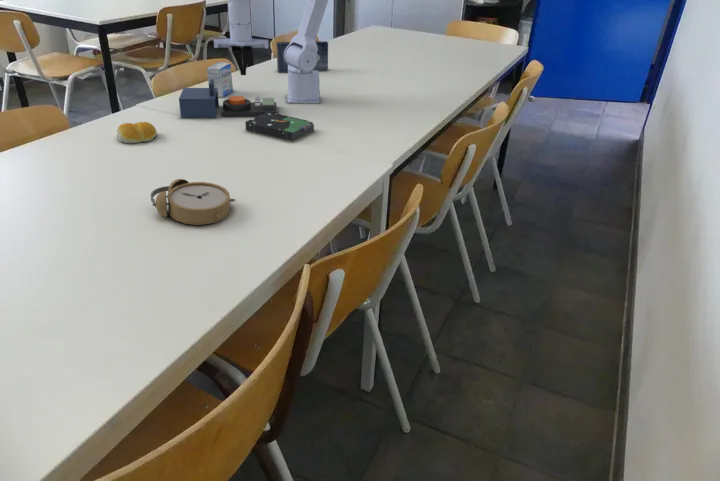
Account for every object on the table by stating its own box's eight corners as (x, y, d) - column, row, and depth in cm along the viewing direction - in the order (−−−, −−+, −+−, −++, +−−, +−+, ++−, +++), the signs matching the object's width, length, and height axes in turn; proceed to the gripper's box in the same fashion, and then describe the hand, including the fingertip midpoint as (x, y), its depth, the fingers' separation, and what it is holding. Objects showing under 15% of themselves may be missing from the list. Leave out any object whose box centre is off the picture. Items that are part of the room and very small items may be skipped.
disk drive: (245, 132, 142) (293, 143, 136) (244, 121, 140) (293, 132, 135) (267, 121, 150) (314, 130, 145) (267, 111, 148) (314, 120, 143)
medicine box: (223, 98, 166) (220, 69, 161) (209, 96, 166) (206, 67, 162) (233, 91, 172) (231, 63, 168) (220, 89, 173) (217, 61, 168)
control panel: (276, 107, 160) (276, 97, 159) (277, 117, 153) (276, 106, 151) (224, 107, 158) (223, 97, 157) (222, 117, 150) (221, 106, 149)
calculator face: (274, 97, 158) (273, 96, 158) (274, 106, 152) (274, 105, 151) (255, 97, 158) (255, 96, 157) (255, 106, 151) (255, 105, 151)
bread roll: (161, 140, 134) (158, 124, 132) (122, 146, 130) (119, 130, 127) (151, 129, 140) (149, 114, 138) (114, 135, 135) (111, 119, 133)
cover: (219, 106, 158) (216, 76, 154) (216, 118, 150) (213, 87, 145) (185, 106, 157) (182, 76, 153) (181, 118, 148) (177, 86, 144)
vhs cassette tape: (326, 69, 202) (326, 40, 197) (328, 71, 199) (328, 42, 194) (276, 70, 196) (276, 41, 191) (278, 72, 194) (277, 43, 189)
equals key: (245, 100, 156) (245, 95, 155) (245, 105, 152) (244, 100, 151) (228, 100, 155) (228, 95, 154) (228, 105, 151) (227, 100, 151)
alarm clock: (216, 215, 97) (137, 191, 97) (214, 238, 99) (137, 215, 100) (240, 189, 106) (167, 167, 107) (237, 210, 109) (166, 189, 110)
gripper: (211, 25, 142) (216, 78, 149) (267, 26, 144) (269, 78, 151) (213, 20, 148) (217, 71, 155) (267, 21, 150) (269, 71, 157)
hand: (243, 74), depth 154 cm, fingers closed
